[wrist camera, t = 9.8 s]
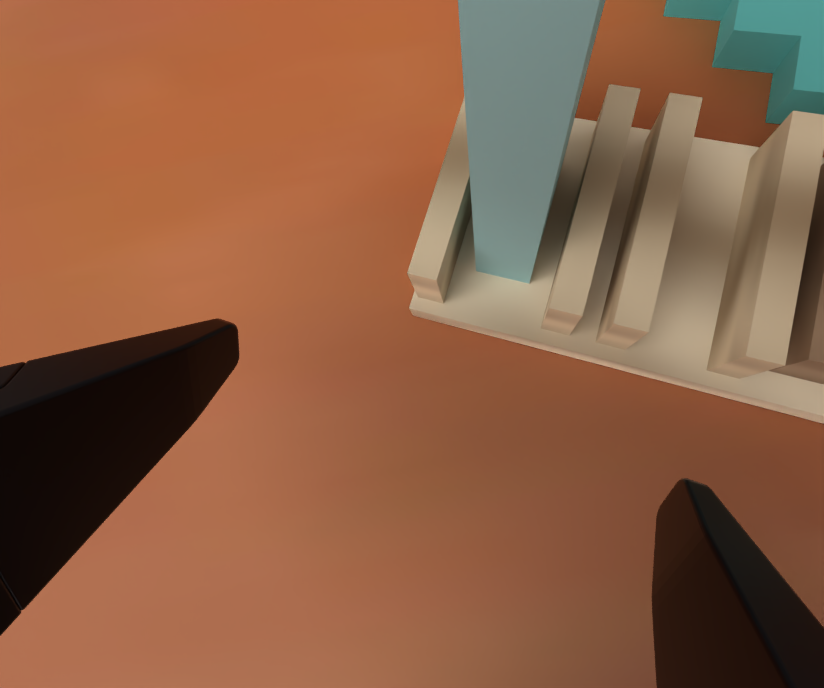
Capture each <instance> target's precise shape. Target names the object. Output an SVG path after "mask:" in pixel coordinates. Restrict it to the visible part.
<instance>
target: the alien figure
mask: <svg viewBox="0 0 824 688" xmlns="http://www.w3.org/2000/svg"><path fill="white" fill-rule="evenodd" d="M663 16H667V17H679V18H691V19H703V20H715V21H720V27H719V32H718V38H717V43H716V48H715V54H714V59H713V65H712V67H717V68H726V69H736V70H746V71H756V72H765V73H773V77H772V83H771V90H770V96H769V102H768V109H767V115H766V121H765V123H773V124H781V123H782V122H783V121H784V120H785V119H786V118H787V117H788V116H789V115H790V113H791V112H792V111H800V112H807V113H814V114H821V115H824V0H667V1H666V5H665V10H664V15H663Z"/></svg>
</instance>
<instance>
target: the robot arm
mask: <svg viewBox="0 0 824 688" xmlns="http://www.w3.org/2000/svg"><path fill="white" fill-rule="evenodd" d="M238 360H239V341H238V329H237V327H236V325H235V324H233V323H231V322H228V321H225V320H222V319H212V320H208V321H203V322H199V323H194V324H190V325H185V326H181V327H177V328H172V329H168V330H163V331H159V332H154V333H150V334H145V335H141V336H137V337H132V338H128V339H123V340H119V341H114V342H110V343H105V344H101V345H96V346H92V347H88V348H83V349H79V350H74V351H70V352H65V353H61V354H56V355H52V356H48V357H43V358H39V359H34V360H30V361H27V362H26V363H24V362H20V363H16V364H12V365H7V366H3V367H0V636H1V635H2V633H3V632H4V631H5V630H6V629H7V628H8V627H9V626H10V625H11V624H12V622H13V621H14V620H15V619H16V618H17V617H18V616H19V615H20V614H21V610H24V609H25V608H26V607H27V606H28V604H29V603H30V602H31V601H32V600H33V599H34V598H35V597H36V596H37V595H38V593H39V592H40V591H41V590H42V589H43V588H44V587H45V586H46V585H47V584H48V582H49V581H50V580H51V579H52V578H53V577H54V576H55V575H56V574H57V573H58V572H59V570H60V569H61V568H62V567H63V566H64V565H65V564H66V563H67V562H68V561H69V559H70V558H71V557H72V556H73V555H74V554H75V553H76V552H77V551H78V550H79V548H80V547H81V546H82V545H83V544H84V543H85V542H86V541H87V540H88V539H89V538H90V536H91V535H92V534H93V533H94V532H95V531H96V530H97V529H98V528H99V527H100V525H101V524H102V523H103V522H104V521H105V520H106V519H107V518H108V517H109V516H110V514H111V513H112V512H113V511H114V510H115V509H116V508H117V507H118V506H119V505H120V503H121V502H122V501H123V500H124V499H125V498H126V497H127V496H128V495H129V494H130V493H131V491H132V490H133V489H134V488H135V487H136V486H137V485H138V484H139V483H140V482H141V480H142V479H143V478H144V477H145V476H146V475H147V474H148V473H149V472H150V471H151V469H152V468H153V467H154V466H155V465H156V464H157V463H158V462H159V461H160V460H161V458H162V457H163V456H164V455H165V454H166V453H167V452H168V451H169V450H170V449H171V448H172V446H173V445H174V444H175V443H176V442H177V441H178V440H179V439H180V438H181V437H182V435H183V434H184V433H185V432H186V431H187V430H188V429H189V428H190V427H191V425H192V424H193V423H194V422H195V421H196V420H197V418H198V417H199V416H200V414H201V413H202V412H203V411H204V409H205V408H206V407H207V405H208V404H209V402H210V401H211V400H212V398H213V397H214V396H215V394H216V393H217V392H218V390H219V389H220V387H221V386H222V385H223V383H224V382H225V381H226V379H227V378H228V377H229V375H230V374H231V372H232V371H233V370H234V368H235V367H236V365H237V363H238ZM652 617H653V634H654V650H655V667H656V684H657V688H824V627H823V626H822V625H821V624H820V622H819V621H818V620H817V619H816V618H815V616H814V615H813V614H812V613H811V611H810V610H809V609H808V608H807V606H806V605H805V604H804V603H803V602H802V600H801V599H800V598H799V597H798V595H797V594H796V593H795V592H794V591H793V589H792V588H791V587H790V586H789V584H788V583H787V582H786V581H785V579H784V578H783V577H782V576H781V575H780V573H779V572H778V571H777V570H776V568H775V567H774V566H773V565H772V564H771V562H770V561H769V560H768V559H767V557H766V556H765V555H764V554H763V552H762V551H761V550H760V549H759V548H758V546H757V545H756V544H755V543H754V541H753V540H752V539H751V538H750V537H749V535H748V534H747V533H746V532H745V530H744V529H743V528H742V527H741V525H740V524H739V523H738V522H737V521H736V519H735V518H734V517H733V516H732V514H731V513H730V512H729V511H728V510H727V508H726V507H725V506H724V505H723V503H722V502H721V501H720V500H719V498H718V497H717V496H716V495H715V494H714V492H713V491H712V490H711V489H710V488H709V487H708V486H707V485H704V484H702V483H699V482H696V481H693V480H690V479H687V478H683V479H681V480H679V481H678V482H677V483H676V485H675V486H674V487H673V489H672V490H671V492H670V493H669V494H668V496H667V497H666V499H665V500H664V501H663V503H662V504H661V506H660V508H659V510H658V513H657V519H656V534H655V549H654V565H653V581H652Z"/></svg>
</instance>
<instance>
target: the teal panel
mask: <svg viewBox="0 0 824 688" xmlns="http://www.w3.org/2000/svg"><path fill="white" fill-rule="evenodd" d="M604 3H605V0H458V7H459V22H460V37H461V52H462V68H463V83H464V98H465V113H466V128H467V143H468V158H469V173H470V188H471V203H472V218H473V233H474V249H475V264H476V271H478V272H482V273H486V274H490V275H495V276H499V277H503V278H507V279H512V280H516V281H520V282H524V283H530V280H531V276H532V272H533V269H534V265H535V262H536V258H537V254H538V251H539V247H540V244H541V240H542V236H543V233H544V229H545V226H546V222H547V218H548V215H549V211H550V207H551V204H552V200H553V197H554V193H555V189H556V186H557V182H558V179H559V175H560V171H561V168H562V164H563V160H564V157H565V153H566V149H567V145H568V141H569V137H570V134H571V130H572V126H573V122H574V118H575V114H576V111H577V107H578V103H579V99H580V95H581V91H582V88H583V84H584V80H585V76H586V72H587V68H588V65H589V61H590V57H591V53H592V49H593V45H594V42H595V38H596V34H597V30H598V26H599V22H600V18H601V15H602V11H603V7H604Z"/></svg>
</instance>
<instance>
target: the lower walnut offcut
mask: <svg viewBox="0 0 824 688" xmlns="http://www.w3.org/2000/svg"><path fill="white" fill-rule="evenodd" d="M769 371H771V372H775V373H779V374H783V375H787V376H791V377H795V378H799V379H803V380H807V381H811V382H815V383H819V384H823V385H824V163H823V164H822V165H821V167H820V173H819V178H818V184H817V190H816V195H815V201H814V207H813V212H812V218H811V223H810V229H809V235H808V240H807V246H806V252H805V257H804V263H803V268H802V274H801V280H800V285H799V291H798V296H797V302H796V308H795V313H794V319H793V325H792V330H791V336H790V341H789V347H788V353H787V358H786V364H785V366H782V367H779V368H775V369H772V370H769Z"/></svg>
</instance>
